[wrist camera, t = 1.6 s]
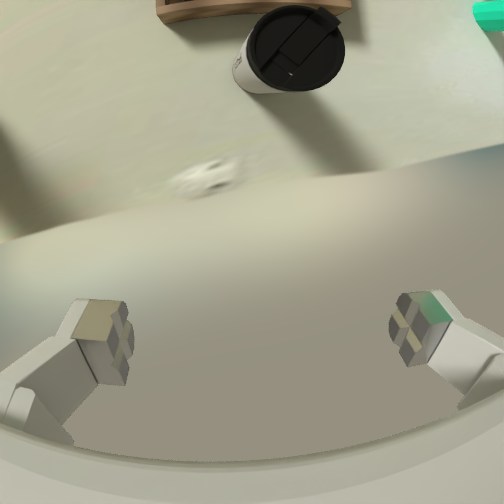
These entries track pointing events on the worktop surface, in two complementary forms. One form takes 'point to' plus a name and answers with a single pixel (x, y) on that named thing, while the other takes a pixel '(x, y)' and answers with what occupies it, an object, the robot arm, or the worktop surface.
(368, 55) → the worktop surface
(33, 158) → the worktop surface
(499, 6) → the candle
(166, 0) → the open box
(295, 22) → the travel mug
